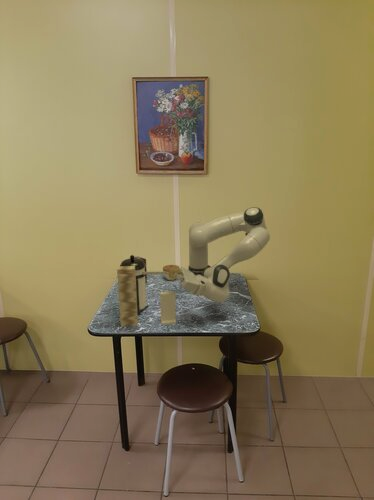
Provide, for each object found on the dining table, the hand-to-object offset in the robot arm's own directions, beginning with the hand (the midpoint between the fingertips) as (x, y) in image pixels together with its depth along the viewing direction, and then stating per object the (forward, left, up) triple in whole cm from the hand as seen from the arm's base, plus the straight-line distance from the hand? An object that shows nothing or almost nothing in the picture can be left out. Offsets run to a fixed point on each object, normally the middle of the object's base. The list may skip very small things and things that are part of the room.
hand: (173, 272), depth 169 cm
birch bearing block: (+22, 0, -25) cm, 33 cm away
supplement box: (+17, -54, -26) cm, 62 cm away
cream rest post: (+3, 0, -25) cm, 25 cm away
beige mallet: (+6, 0, -2) cm, 6 cm away
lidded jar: (-3, -57, -26) cm, 63 cm away
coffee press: (+20, -14, -26) cm, 35 cm away
